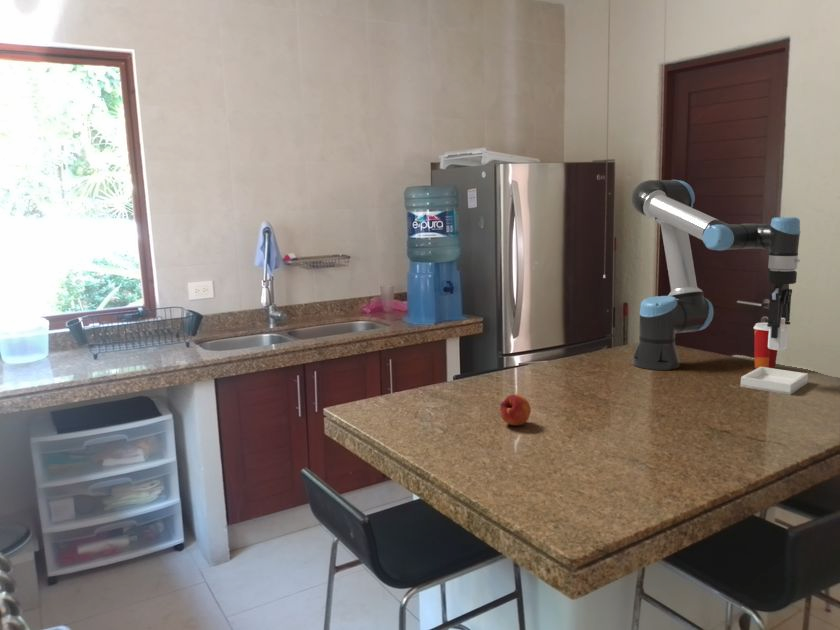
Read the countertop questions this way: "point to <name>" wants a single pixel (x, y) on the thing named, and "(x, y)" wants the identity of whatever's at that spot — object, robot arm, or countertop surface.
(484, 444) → the countertop surface
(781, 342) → the salt shaker
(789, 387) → the bin
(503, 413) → the fruit
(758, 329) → the coffee cup
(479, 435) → the countertop surface
